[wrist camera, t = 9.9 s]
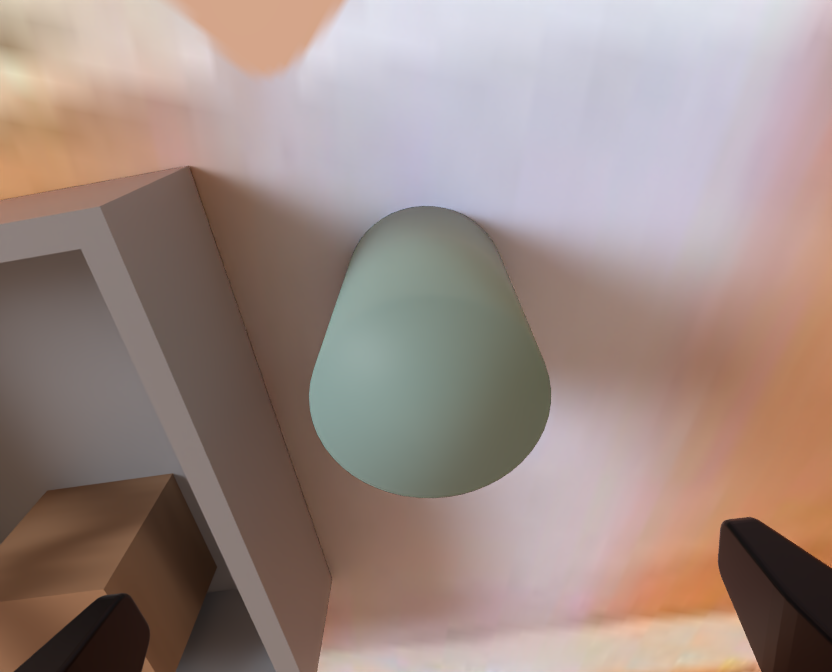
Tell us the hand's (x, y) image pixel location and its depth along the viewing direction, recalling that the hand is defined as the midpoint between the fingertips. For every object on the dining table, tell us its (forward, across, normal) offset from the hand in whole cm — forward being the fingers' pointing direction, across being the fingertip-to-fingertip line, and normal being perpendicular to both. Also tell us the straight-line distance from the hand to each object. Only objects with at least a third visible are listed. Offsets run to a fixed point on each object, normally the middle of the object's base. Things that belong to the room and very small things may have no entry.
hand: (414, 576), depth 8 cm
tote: (+11, +13, +3) cm, 17 cm away
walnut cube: (+10, +13, +7) cm, 18 cm away
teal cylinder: (+11, 0, 0) cm, 11 cm away
